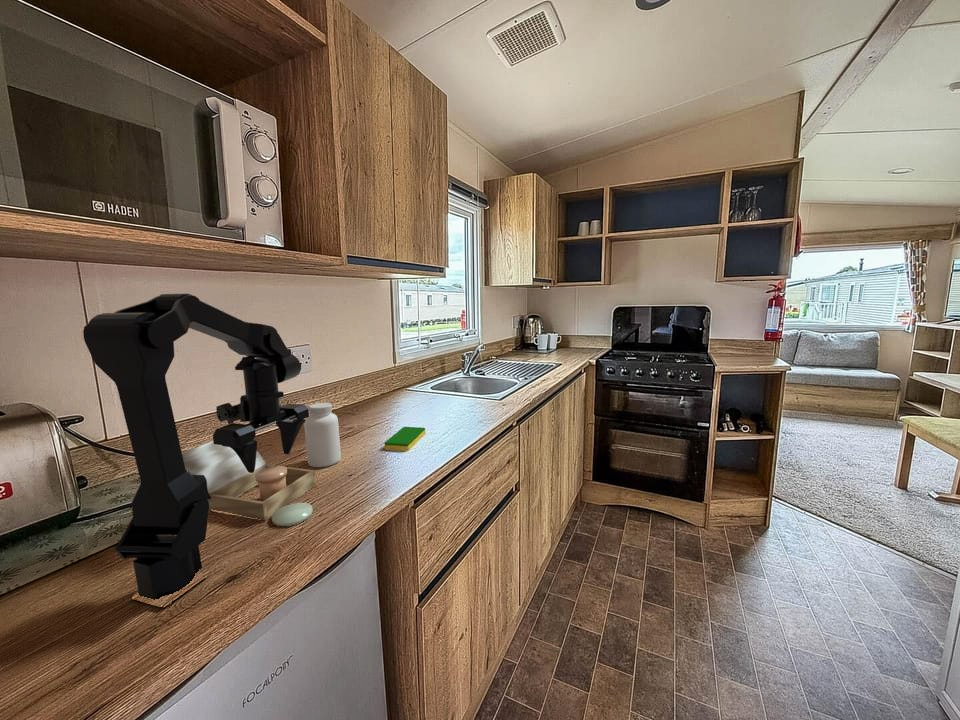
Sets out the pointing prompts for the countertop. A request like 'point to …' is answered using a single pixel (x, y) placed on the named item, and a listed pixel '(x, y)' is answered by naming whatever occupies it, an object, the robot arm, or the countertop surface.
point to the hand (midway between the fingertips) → (269, 462)
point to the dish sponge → (404, 439)
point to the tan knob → (271, 481)
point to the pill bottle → (322, 436)
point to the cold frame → (242, 481)
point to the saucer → (292, 514)
